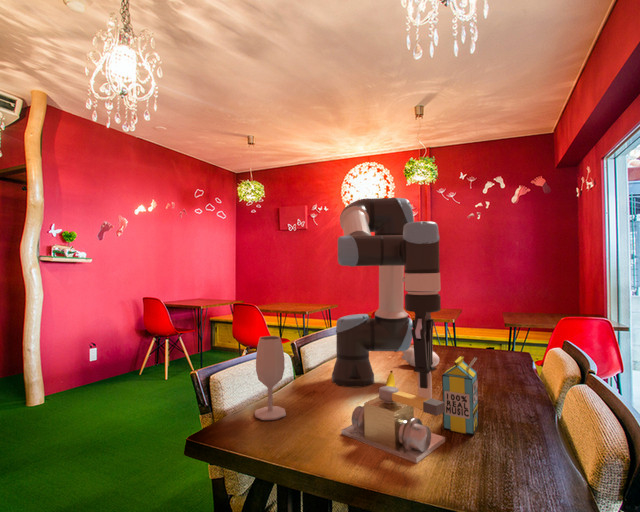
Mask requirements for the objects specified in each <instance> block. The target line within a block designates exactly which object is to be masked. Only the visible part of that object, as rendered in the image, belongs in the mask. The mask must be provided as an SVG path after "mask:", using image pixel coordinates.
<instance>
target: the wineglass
mask: <svg viewBox="0 0 640 512" xmlns="http://www.w3.org/2000/svg"><path fill="white" fill-rule="evenodd" d="M283 346H284V345H283V343H282V339H281V336H278V335H266V336H265V335H264V336H259V338H258V343H257V347H256V354H255V355H256V356H255V371H256V376H257V380H258V381H259V382H261V383H262V384H263V385H264V386H265V387H266V388H267V406H264V407H261V408H258V409H255V411H254V417H255V418H256V419H258V420H261V421H276V420H279V419H282V418H284V417H286V416H287V413H286V408H283V407H281V406H278V405H273V404H274V403H273V402H274V401H273V399H274V398H273V391H274V390H273V388H274V387H276V385H277V384H279V382H281V381H282V380H283V378H284V372H285V369H286V367H285V354H284V352H285V351H284V347H283Z"/></svg>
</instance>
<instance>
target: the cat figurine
mask: <svg viewBox="0 0 640 512" xmlns="http://www.w3.org/2000/svg"><path fill="white" fill-rule="evenodd" d="M401 353H402V354H403V355H402V356H401V359H402V360H403V361H405V362H407V364H409V365H410V366H411V367H414V368H415V358H414V346H413V345H412V344H411V345H410V347H409V349H408V350H406V351H401ZM439 363H440V357H439V355H438V354H437V353H436V352H435V351H433V365H431V367H435V368H436V366H437V365H439Z"/></svg>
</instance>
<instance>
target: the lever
mask: <svg viewBox="0 0 640 512" xmlns="http://www.w3.org/2000/svg"><path fill="white" fill-rule="evenodd" d="M378 397H379V399H381V400H383V401H395V402H399V403H402V404H405V405H408V406H412V407H414V408H416V409H419V410H422V411H423V412H422V413H426V414H429V415H432V416H434V417H438V416H439V415H441V414H442V415H443V413H444V412H445V402H443V400H439V399H435V398H433V397H432V398H431V399H426V398H422V397H419V396H418V395H415V394H411V393H407V392H404V391H401V390H399V388H398V387H396V386H395V387H391V386H386V385H384V386H380V387H379V388H378Z"/></svg>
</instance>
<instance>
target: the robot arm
mask: <svg viewBox="0 0 640 512" xmlns="http://www.w3.org/2000/svg"><path fill="white" fill-rule="evenodd" d="M414 218H415V217H414V212H413V207H412V205H411V202H410V201H409V200H408V199H407V198H403V197H384V198H383V197H382V198H381V197H380V198H379V197H378V198H377V197H376V198H369V197H368V198H361V199H357V200H354V201H352V202H350V203H349V204H348V205H347V206H346V207H345V208H343V210H342V211H341V213H340V216H339V224H340V228H341V229H342V231H343V235H340V236H339V237H338V238H337V263H338V264H339V265H340V266H342V267H344V266H345V267H346V266H347V267H351V268H353V267H375V266H376V267H377V266H378V309H377V310H376V311H374V317H370V316H369V314H367V313H358V314H349V315H345V316H342V317H339V318H338V319H337V320H336V327H335V334H336V337H335V338H336V340H335V341H336V342H335V343H336V350H335V351H336V360H335V363H334V366H333V370H332V373H331V382H332V383H333V384H335V385H338V386H342V387H346V388H347V387H349V388H355V387H356V388H358V387H367V386H370V385H372V384H374V383H375V374H374V371H373V367H372V365H371V362H370V352H394V353H397V352H402V351H406V350H408V349H409V348H410V347H411V346H412V343H413V346H414V358H415V367H414V368H413V373H417V396H419V397H422V398H426V399H431V398H432V399H433V386H432V384H433V383H432V379H433V378H432V371H435V370H436V366H435V367H431V365H433V352H434V350H433V349H434V346H433V344H434V342H433V339H434V325H435V323H434V322H435V321H434V319H433V318H432V315H431V313H438V312H440V311H441V309H442V304H441V299H442V298H441V295H440V294H439V292H441V287H442V286H441V271H440V240H441V238H440V233H439V232H440V231H439V226H438V224H437V222H435V221H428V220H427V221H423V220H422V221H415V220H414ZM372 233H374V235H372ZM404 291H406V292H407V293H406V294H405V293H404ZM407 312H409V313H410V312H413V313H414V319H412V318H410V317H408V315H409V313H407Z"/></svg>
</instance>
